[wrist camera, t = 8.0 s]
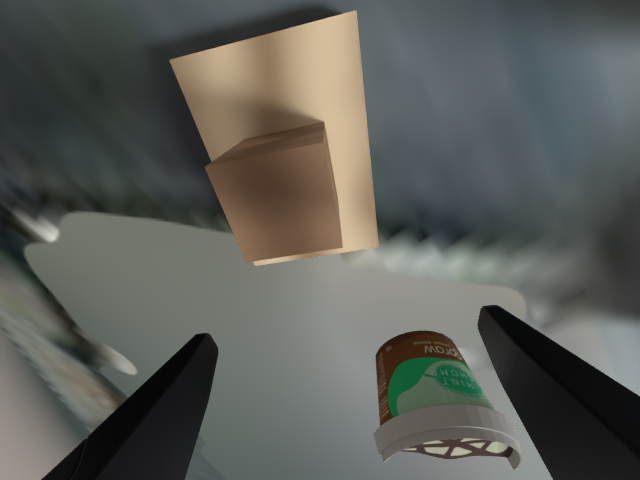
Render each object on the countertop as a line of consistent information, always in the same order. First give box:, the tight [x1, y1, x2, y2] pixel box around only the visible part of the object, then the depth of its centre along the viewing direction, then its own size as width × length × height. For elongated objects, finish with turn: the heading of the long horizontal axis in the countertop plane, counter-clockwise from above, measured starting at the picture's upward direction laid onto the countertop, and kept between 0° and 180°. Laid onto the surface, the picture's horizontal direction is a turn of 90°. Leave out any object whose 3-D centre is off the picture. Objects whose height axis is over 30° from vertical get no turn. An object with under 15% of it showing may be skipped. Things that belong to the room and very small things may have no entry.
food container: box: [374, 331, 522, 470], centre depth 24 cm, size 12×6×10 cm, turn 86°
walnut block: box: [205, 122, 343, 262], centre depth 14 cm, size 5×5×6 cm
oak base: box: [169, 10, 379, 266], centre depth 17 cm, size 10×14×2 cm
